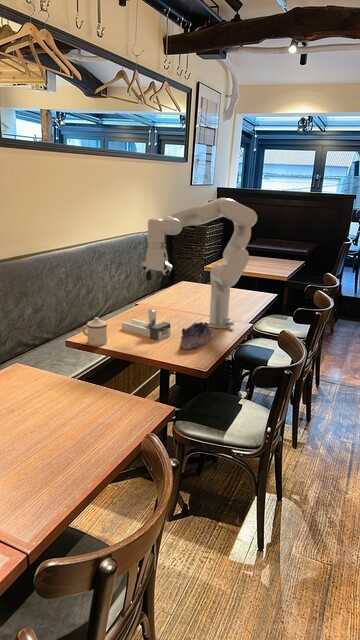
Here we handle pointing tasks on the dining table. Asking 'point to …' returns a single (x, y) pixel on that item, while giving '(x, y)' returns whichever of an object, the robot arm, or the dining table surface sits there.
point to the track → (153, 332)
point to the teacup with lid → (96, 332)
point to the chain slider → (152, 319)
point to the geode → (195, 336)
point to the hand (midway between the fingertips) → (157, 281)
